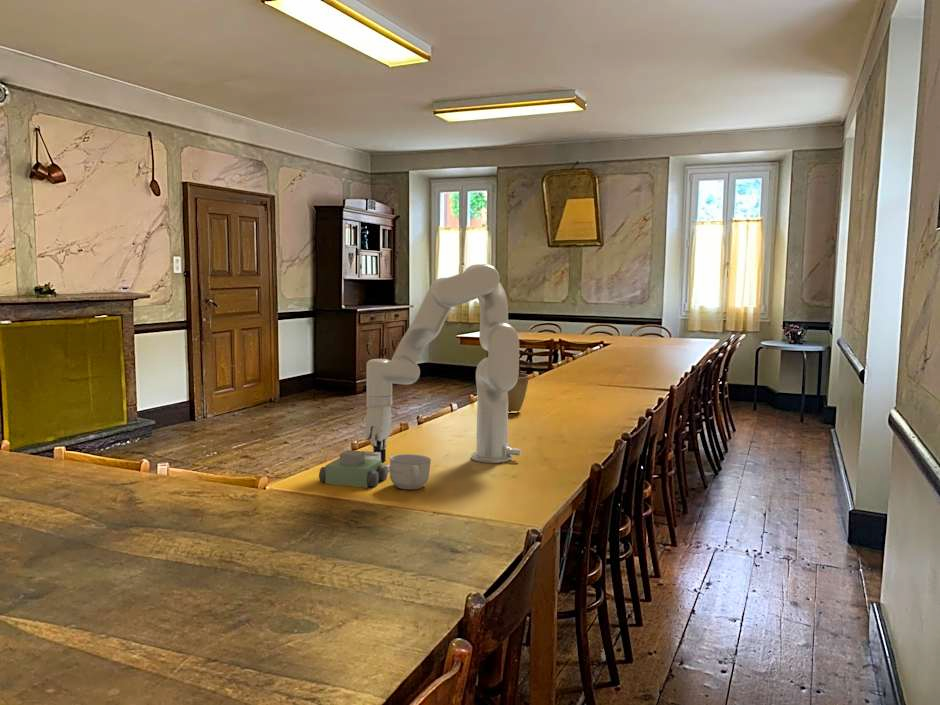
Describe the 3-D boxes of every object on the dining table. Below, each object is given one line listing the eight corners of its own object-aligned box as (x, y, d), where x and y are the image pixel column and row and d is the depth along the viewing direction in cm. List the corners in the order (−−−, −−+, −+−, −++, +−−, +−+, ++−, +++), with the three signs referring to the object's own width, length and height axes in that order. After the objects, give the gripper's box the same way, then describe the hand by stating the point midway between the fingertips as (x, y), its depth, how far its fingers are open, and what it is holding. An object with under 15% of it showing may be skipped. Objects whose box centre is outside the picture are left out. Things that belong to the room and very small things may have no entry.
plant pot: (486, 410, 306) (487, 373, 305) (517, 408, 313) (518, 371, 311) (502, 416, 293) (503, 377, 291) (534, 414, 299) (535, 376, 298)
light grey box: (380, 471, 207) (380, 452, 207) (371, 477, 200) (371, 458, 200) (363, 469, 209) (363, 451, 208) (353, 475, 202) (353, 456, 201)
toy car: (398, 470, 207) (398, 443, 207) (373, 488, 189) (373, 458, 188) (348, 466, 211) (348, 439, 211) (319, 483, 193) (318, 454, 192)
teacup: (390, 481, 196) (390, 452, 196) (430, 481, 197) (430, 452, 196) (388, 496, 183) (388, 465, 182) (431, 496, 183) (431, 465, 183)
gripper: (376, 396, 220) (376, 455, 222) (357, 404, 205) (357, 467, 207) (400, 397, 218) (399, 457, 220) (382, 405, 203) (382, 469, 205)
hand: (379, 462), depth 213 cm, fingers closed
